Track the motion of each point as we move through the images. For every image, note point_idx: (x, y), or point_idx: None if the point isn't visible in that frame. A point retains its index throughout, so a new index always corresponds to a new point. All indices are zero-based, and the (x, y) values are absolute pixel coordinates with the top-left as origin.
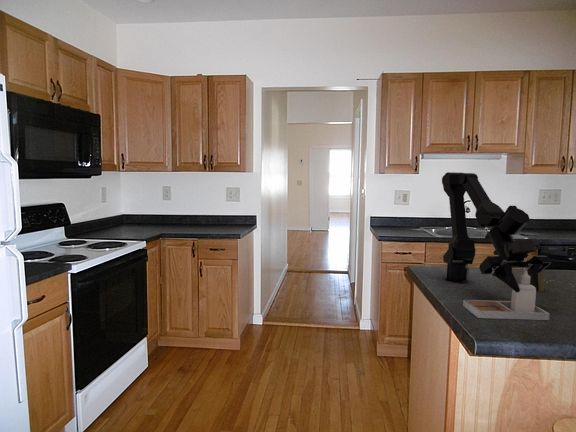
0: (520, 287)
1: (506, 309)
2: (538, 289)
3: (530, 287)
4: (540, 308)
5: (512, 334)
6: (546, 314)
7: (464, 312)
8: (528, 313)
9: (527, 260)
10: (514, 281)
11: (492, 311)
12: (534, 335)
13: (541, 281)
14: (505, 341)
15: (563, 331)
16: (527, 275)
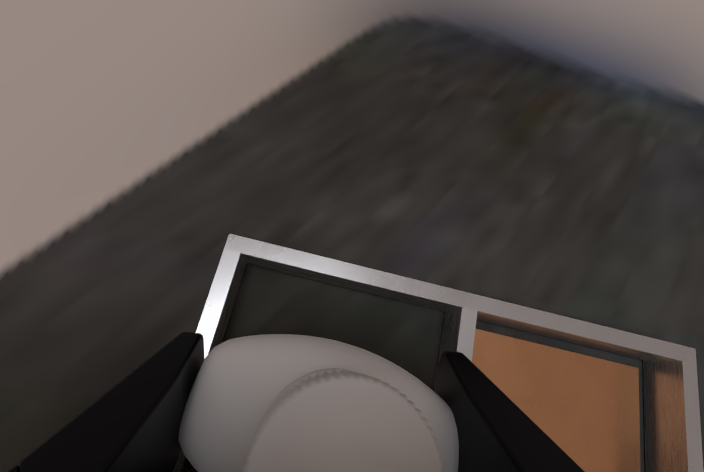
0: (424, 389)
1: None
2: (188, 334)
3: (306, 345)
4: None
5: (583, 133)
6: (252, 240)
7: None
8: (373, 271)
9: None
10: (537, 445)
11: (604, 337)
12: (490, 104)
13: None
14: (648, 88)
15: (307, 106)
16: (345, 426)
